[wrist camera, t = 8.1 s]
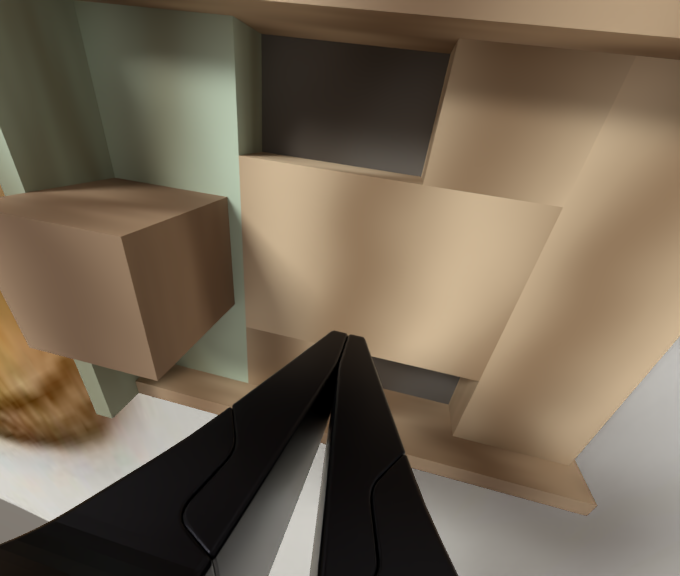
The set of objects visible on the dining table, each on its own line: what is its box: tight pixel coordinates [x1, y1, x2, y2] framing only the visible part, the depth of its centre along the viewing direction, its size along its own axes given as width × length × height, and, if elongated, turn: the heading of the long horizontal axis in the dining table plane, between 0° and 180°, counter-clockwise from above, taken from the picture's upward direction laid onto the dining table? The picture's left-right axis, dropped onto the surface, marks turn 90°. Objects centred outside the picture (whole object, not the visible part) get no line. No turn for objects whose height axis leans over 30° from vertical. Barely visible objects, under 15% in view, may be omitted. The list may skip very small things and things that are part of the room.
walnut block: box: [0, 178, 235, 381], centre depth 10 cm, size 4×4×4 cm
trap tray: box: [0, 0, 680, 516], centre depth 11 cm, size 21×16×5 cm
